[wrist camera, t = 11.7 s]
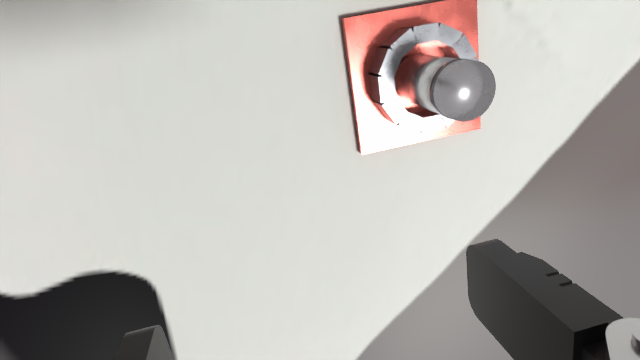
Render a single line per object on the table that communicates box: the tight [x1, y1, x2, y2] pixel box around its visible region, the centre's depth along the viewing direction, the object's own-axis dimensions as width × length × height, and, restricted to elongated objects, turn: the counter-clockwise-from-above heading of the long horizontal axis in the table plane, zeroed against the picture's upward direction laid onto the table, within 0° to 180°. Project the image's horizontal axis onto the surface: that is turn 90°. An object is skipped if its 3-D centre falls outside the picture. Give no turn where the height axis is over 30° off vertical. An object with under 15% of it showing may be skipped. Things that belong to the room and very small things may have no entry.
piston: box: [395, 54, 496, 122], centre depth 39 cm, size 5×5×10 cm
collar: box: [341, 0, 480, 155], centre depth 43 cm, size 14×14×4 cm
